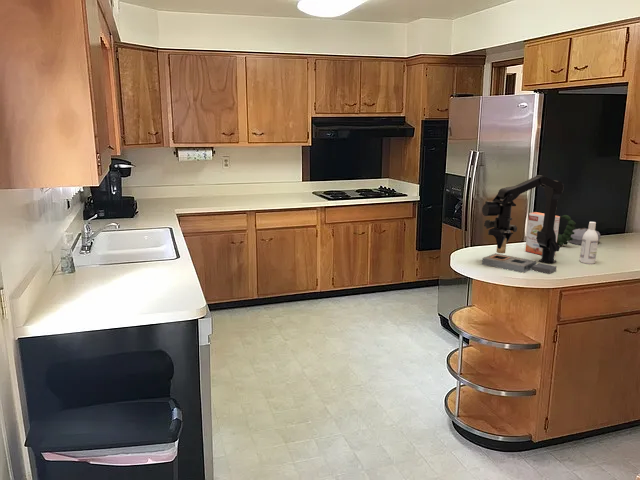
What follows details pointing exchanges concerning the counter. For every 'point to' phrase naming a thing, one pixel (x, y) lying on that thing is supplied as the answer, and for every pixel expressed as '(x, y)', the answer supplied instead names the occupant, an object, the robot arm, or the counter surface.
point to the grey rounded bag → (580, 236)
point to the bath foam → (589, 245)
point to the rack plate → (508, 262)
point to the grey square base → (544, 268)
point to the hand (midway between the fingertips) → (501, 247)
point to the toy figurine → (566, 231)
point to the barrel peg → (502, 247)
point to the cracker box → (533, 227)
